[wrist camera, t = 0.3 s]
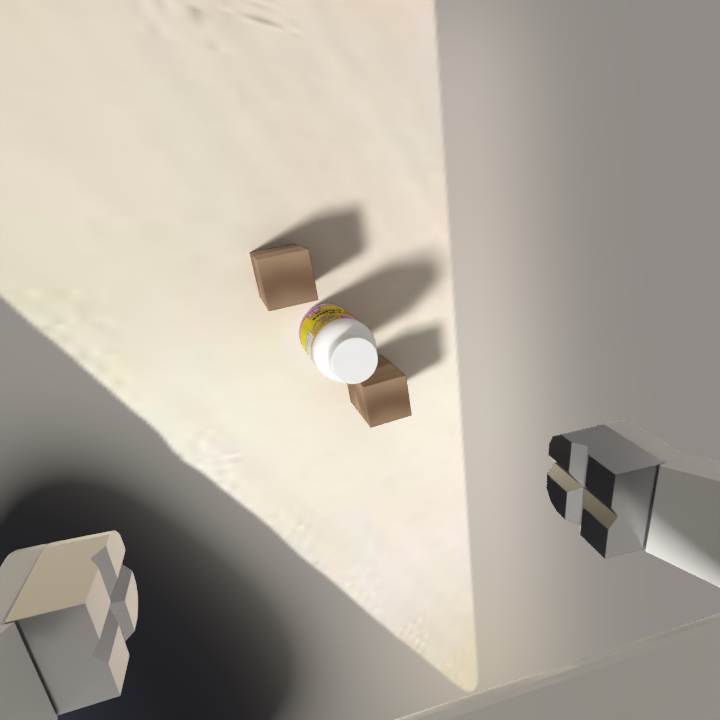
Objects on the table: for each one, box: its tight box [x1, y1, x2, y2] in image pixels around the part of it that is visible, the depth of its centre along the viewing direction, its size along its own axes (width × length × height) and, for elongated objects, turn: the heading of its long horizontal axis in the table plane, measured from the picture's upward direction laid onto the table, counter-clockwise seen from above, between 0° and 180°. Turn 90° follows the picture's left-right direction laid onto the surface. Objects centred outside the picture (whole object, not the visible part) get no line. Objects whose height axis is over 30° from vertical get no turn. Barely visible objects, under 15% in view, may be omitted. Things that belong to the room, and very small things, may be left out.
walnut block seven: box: [347, 355, 411, 427], centre depth 57 cm, size 5×5×8 cm
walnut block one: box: [250, 244, 318, 311], centre depth 50 cm, size 5×5×8 cm
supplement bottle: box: [299, 304, 378, 384], centre depth 51 cm, size 7×7×13 cm
